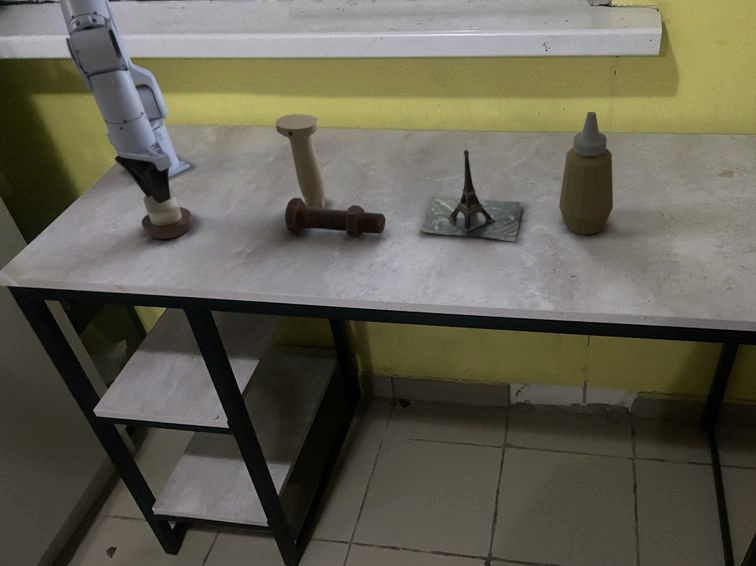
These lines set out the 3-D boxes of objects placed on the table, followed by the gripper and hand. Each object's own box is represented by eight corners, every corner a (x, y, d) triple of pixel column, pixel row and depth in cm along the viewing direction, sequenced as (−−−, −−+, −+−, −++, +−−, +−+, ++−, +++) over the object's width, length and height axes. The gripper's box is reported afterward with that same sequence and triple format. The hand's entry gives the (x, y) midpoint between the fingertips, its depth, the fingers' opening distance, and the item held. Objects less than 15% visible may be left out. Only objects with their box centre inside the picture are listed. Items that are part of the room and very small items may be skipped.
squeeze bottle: (615, 214, 110) (626, 103, 98) (605, 243, 105) (615, 130, 93) (565, 207, 113) (569, 98, 100) (552, 236, 107) (555, 124, 95)
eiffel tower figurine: (524, 205, 114) (523, 127, 105) (515, 241, 107) (513, 161, 98) (434, 200, 117) (425, 124, 108) (419, 235, 110) (408, 157, 100)
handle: (328, 216, 115) (308, 130, 105) (293, 212, 117) (270, 127, 107) (340, 200, 119) (322, 115, 108) (306, 196, 120) (284, 112, 110)
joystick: (156, 146, 112) (111, 163, 108) (183, 160, 108) (137, 177, 104) (177, 210, 119) (135, 228, 115) (202, 225, 116) (160, 244, 111)
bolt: (384, 246, 111) (294, 238, 113) (390, 217, 112) (301, 210, 115) (375, 230, 105) (281, 222, 108) (381, 200, 107) (288, 192, 109)
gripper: (175, 117, 101) (206, 200, 110) (124, 93, 108) (156, 173, 117) (131, 136, 97) (166, 220, 106) (80, 111, 104) (118, 191, 114)
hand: (158, 197), depth 112 cm, fingers closed on joystick, 2 cm apart
